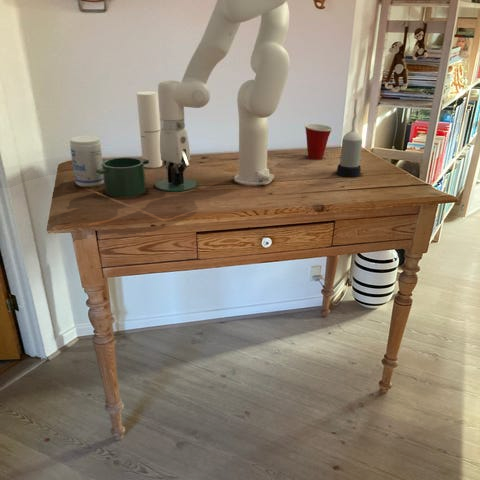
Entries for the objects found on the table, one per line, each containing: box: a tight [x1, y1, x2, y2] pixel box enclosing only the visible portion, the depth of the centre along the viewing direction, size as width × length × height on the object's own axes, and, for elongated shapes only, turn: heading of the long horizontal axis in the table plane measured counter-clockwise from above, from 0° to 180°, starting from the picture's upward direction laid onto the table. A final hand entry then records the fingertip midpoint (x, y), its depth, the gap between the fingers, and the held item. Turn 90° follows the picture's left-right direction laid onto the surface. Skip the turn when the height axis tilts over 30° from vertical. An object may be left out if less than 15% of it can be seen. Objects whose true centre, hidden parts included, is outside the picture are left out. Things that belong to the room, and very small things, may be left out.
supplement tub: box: [69, 135, 104, 188], centre depth 171 cm, size 10×10×15 cm
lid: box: [154, 166, 198, 193], centre depth 171 cm, size 14×14×7 cm
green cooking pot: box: [96, 156, 149, 199], centre depth 165 cm, size 13×18×10 cm
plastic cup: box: [304, 123, 334, 160], centre depth 203 cm, size 11×11×12 cm
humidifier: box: [336, 98, 363, 178], centre depth 180 cm, size 8×8×25 cm
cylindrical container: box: [136, 91, 163, 169], centre depth 189 cm, size 7×7×25 cm
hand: (175, 182), depth 172 cm, fingers closed on lid, 2 cm apart
